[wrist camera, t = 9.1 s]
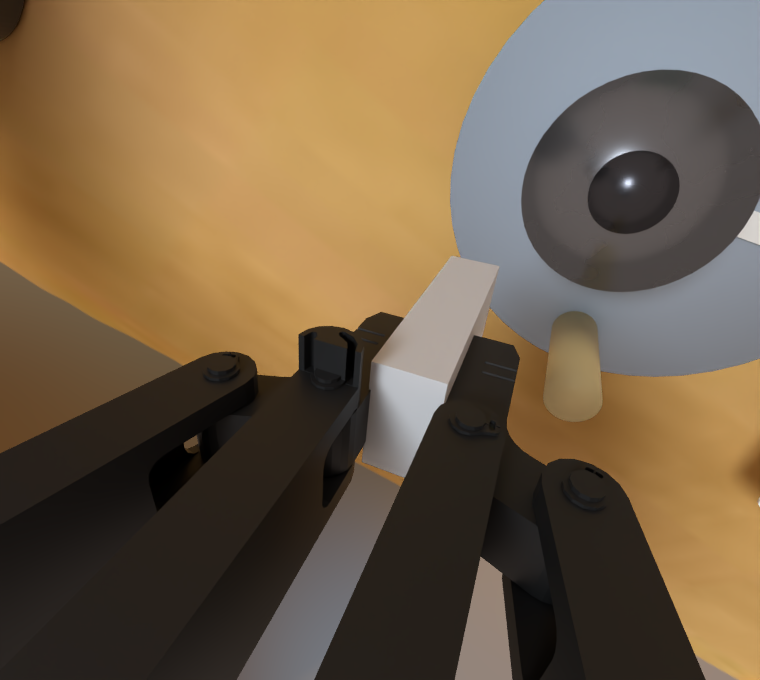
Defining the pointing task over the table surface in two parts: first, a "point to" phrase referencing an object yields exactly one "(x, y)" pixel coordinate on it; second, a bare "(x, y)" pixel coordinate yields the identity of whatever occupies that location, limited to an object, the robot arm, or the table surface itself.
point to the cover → (643, 180)
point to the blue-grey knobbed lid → (506, 174)
